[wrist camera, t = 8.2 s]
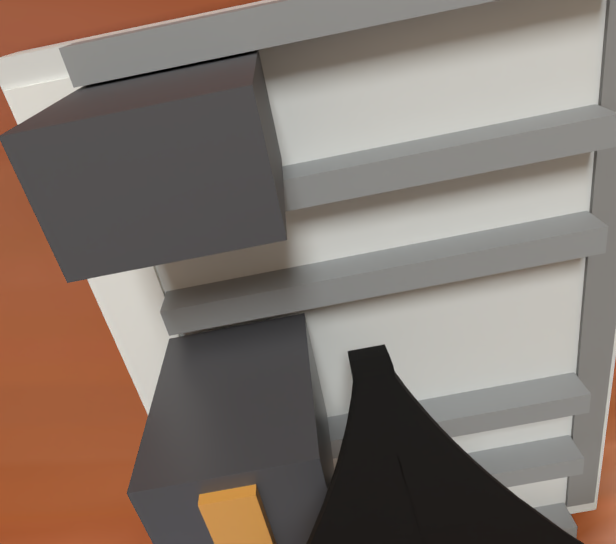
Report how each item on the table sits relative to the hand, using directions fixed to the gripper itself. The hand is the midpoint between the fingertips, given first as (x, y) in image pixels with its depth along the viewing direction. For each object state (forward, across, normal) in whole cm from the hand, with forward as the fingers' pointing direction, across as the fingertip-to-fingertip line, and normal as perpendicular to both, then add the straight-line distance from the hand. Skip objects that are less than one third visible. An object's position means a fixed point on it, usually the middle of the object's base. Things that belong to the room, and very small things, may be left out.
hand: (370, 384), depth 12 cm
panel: (+2, 0, 0) cm, 2 cm away
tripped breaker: (+1, +3, 0) cm, 3 cm away
